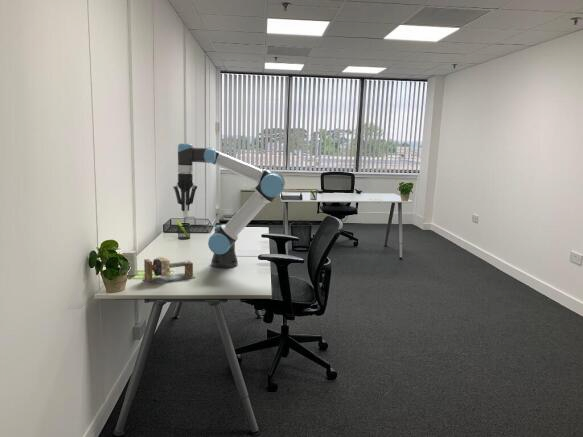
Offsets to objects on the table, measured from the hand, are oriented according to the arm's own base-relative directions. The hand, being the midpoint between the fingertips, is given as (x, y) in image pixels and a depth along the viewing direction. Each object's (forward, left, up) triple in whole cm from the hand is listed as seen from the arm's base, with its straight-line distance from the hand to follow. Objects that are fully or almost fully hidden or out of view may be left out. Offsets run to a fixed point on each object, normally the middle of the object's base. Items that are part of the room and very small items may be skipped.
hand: (185, 216), depth 233 cm
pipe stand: (+8, +16, -29) cm, 34 cm away
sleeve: (+11, +17, -26) cm, 33 cm away
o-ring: (+14, +18, -26) cm, 35 cm away
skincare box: (+28, +6, -30) cm, 41 cm away
